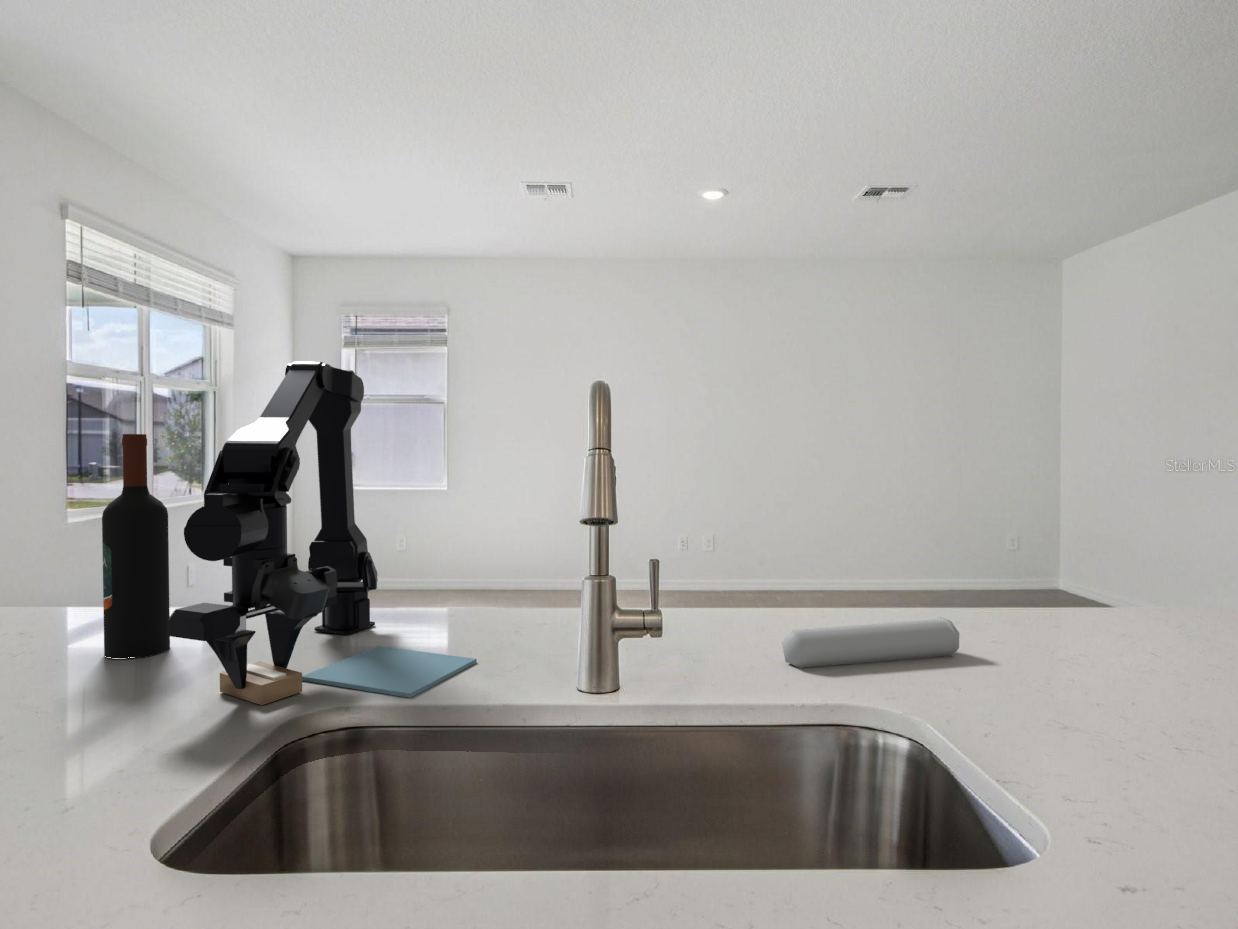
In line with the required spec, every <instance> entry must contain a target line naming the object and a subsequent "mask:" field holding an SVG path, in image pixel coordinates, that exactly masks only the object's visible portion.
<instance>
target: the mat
mask: <svg viewBox="0 0 1238 929" xmlns="http://www.w3.org/2000/svg"><path fill="white" fill-rule="evenodd" d="M476 663H477V658H474V657H465V656H459V655H458V656H457V655H450V654H443V653H435V652H427V651H422V650H421V651H419V650H413V649H404V648H397V647H390V646H383V645H377V646H374V647H371V648H369V649H367V650H365V651H362V652H359V653H357V654H354V655H352V656H350V657H347V658H344V659H342V660H339V661H336V662H333V663H332V664H329V665H327V666H324V667H322V668H318V669H316V670H314V671H311V672H309V673H306V674H304V675H303V674H302V682H309V683H315V684H322V685H328V686H333V687H339V688H340V687H341V688H347V689H353V690H360V691H365V692H371V693H377V694H378V693H379V694H385V695H391V696H397V697H401V698H402V697H404V698H408V699H411V698H413V697H415V696H416V695H419V694H420V693H422V692H425V691H426V690H427V689H430V688H432V687H434V686H436V685H437V684H439V683H441V682H443V681H444V680H446V679H448V678H450V677H452V676H454V675H456V674H459V673H460V672H461V671H464V670H466V669H467V668H468V667H470V666H473V665H475V664H476Z"/></svg>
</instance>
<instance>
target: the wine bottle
mask: <svg viewBox="0 0 1238 929" xmlns="http://www.w3.org/2000/svg"><path fill="white" fill-rule="evenodd" d="M121 446H122V482H123V485H122V489H121V490H122V491H121V493H120V495H119V496H117V497H116V498H115V499H113V500H112V501H111V502H109V503H108V504H107V506H106V507H105V508H104V510H103V512H102V516H101V534H102V535H101V540H102V543H101V544H102V591H103V592H102V594H103V596H102V598H103V601H102V602H103V603H102V604H103V606H102V607H103V646H104V647H103V650H104V651H103V653H104V656H106V657H111V658H128V657H129V658H130V657H143V658H146V657H145V656H148V657H151V655H153V656H156V655H160V654H162V653H165V652H167V651H169V650H170V649H171V636H169V632H168V620H169V617H170V616H171V615H170V613H171V612H170V561H169V560H170V558H169V557H170V556H169V555H170V551H169V548H170V547H169V512H168V509H167V507H166V506H165V504H164V503H163V502H162V501H161V500H160V499H158V498H156V496H154V495H152V494H151V493H150V491H149V488H148V456H147V455H148V451H147V450H148V449H147V446H148V437H147V433H144V434H143V433H141V434H140V433H122V438H121ZM106 657H105V658H106Z"/></svg>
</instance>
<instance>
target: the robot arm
mask: <svg viewBox="0 0 1238 929" xmlns="http://www.w3.org/2000/svg"><path fill="white" fill-rule="evenodd" d="M364 385H365V384H364V382H363V379H362V377H359V375H358V374H356V372H354V371H353V370H352V369H342V368H338V367H334V366H331V365H330V364H328V363H324V362H323V361H293V362H292V363H291V362H290V363H287V365H286V367H285V372H284V377H283V379H282V380H281V382H280V384H279V386H278V387H277V388H276V390H275V392H274V394H273V395H272V397H271V398H270V400H269V402H268V403H267V405H266V406H265V408H264V410H263V411H262V412H261V414H260V416H259V417H258V419H257V420H256V421H255V422H253V423H250V424H248V425H245V426H243V427H241V428H238V429H237V430H236V431H235V432H234V433H233V434H232V435H231V436H230V437H229V438H228V439H227V441H226V442H224V444H223V446H222V448H221V449H220V451H219V453H218V456H217V458H216V461H215V463H214V466H213V468H212V471H211V475H210V476H209V479H208V482H207V485H206V487H205V490H204V492H203V506H201V507H199V508H198V509H196V510H195V511H194V512H193V513H191V514H190V516H189V518H188V520H187V522H186V525H185V526H184V528H183V537H184V542H185V544H186V546H187V548H188V549H189V551H190V552H191V553H192V554H193V555H195V556H196V557H197V558H199V559H201V560H203V561H209V562H217V561H222V560H223V561H222V562H223V566H224V567H231V590H230V591H226V592H223V602H224V603H225V602H226V603H231V605H229V604H228V605H227V604H219V603H218V604H217V603H209V602H201V603H196V604H194V605H192V604H191V605H188V606H184V607H179V608H175V609H174V611H172V613H171V615H170V617H169V620H168V632H169V636H170V637H172V638H180V639H185V640H186V639H187V640H193V641H200V642H206V643H207V644H208V645H209V647H210V648H211V650H212V651H213V653H214V654H215V655H216V656H217V658H218V660H219V662H220V663H221V665H222V667H223V668H224V670H225V671H226V672H227V674H228V676H229V677H230V679H231V681H232V683H233V685H234V686H235V688H236V689H244V688H245V685H246V678H247V664H248V643H249V642H250V641H251V639H252V638H253V637H254V635H255V634H256V630H252V629H251V630H249V629H247V620H248V619H251V618H255V617H259V616H263V615H264V616H265V621H266V622H265V623H266V626H267V627H266V629H267V632H268V639H269V645H270V646H269V647H270V652H271V657H272V663H273V665H275V666H279V667H283V668H286V669H288V666H289V663H290V661H291V657H292V654H293V651H294V648H295V646H296V643H297V640H298V638H299V635H300V633H301V631H302V629H303V627H304V626H305V625H307V623H308V622H309V621H310V620H312V619H313V618H315V617H317V616H318V615H319V614H321V625H317V626H315V627H314V632H323V633H328V634H338V635H345V636H347V635H351V634H353V633H357V632H360V631H362V630H365V629H368V628H371V627H373V626H375V625H376V622H375V621H372V620H371V617H370V616H371V615H370V614H371V610H370V609H371V601H370V600H371V599H370V598H369V592H370V591H374V590H375V591H376V590H377V589H378V581H379V580H378V570H377V569H376V568H377V567H376V566H375V562H374V561H373V557H372V555H371V553H370V552H369V551H368V540H367V537H366V536H365V534H363V532H362V530H361V529H360V528H359V526H358V525H357V524H356V522H355V521H356V520H355V500H354V479H353V475H354V474H353V459H352V458H353V457H352V453H353V452H352V436H351V435H352V434H351V432H352V431H351V430H352V427H353V425H354V423H355V422H356V420H357V419H358V417H359V416H360V415H361V414H360V413H361V411H362V401H363V400H364V396H365V386H364ZM308 421H309V423H310V425H312V427H313V428H314V430H315V431H316V446H317V447H316V448H317V463H318V464H317V465H318V466H317V467H318V469H317V470H318V483H319V486H318V488H319V504H320V505H319V506H320V523H321V526H320V527H321V528H320V529H319V531H318V533H317V535H316V537H315V538H314V540H313V541H311V542H310V545H309V547H308V548H309V549H308V550H309V557H308V563H307V567H308V570H307V571H304V570H301V569H299V565H298V558H297V557H296V554H295V553H288V514H287V513H288V507H287V505H289V504H291V503H292V498H291V496H290V495H289V494H288V493H287V492H289V491H290V489H291V488H292V486H293V485H292V484H293V482H294V481H295V478H296V476H297V473H298V472H299V469H300V464H301V460H300V459H301V458H300V456H299V452H298V449H297V443H298V441H299V438H300V437H301V434H302V433H303V430H304V429H305V427H306V425H307V423H308Z"/></svg>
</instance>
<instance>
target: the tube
mask: <svg viewBox="0 0 1238 929" xmlns="http://www.w3.org/2000/svg"><path fill="white" fill-rule="evenodd" d="M781 646H782V652H783V657H784V661H785V662H786V663H788V664H789V665H793V667H794V666H795V667H796V668H798V667H806V668H815V667H817V666H819V667H827V665H831V666H838V665H837V664H843V665H851V664H853V665H854V664H865V663H876V662H879V663H880V662H890V661H903V660H916V659H925V658H926V659H928V658H938V657H955V656H954V655H956V653H957V652H958V650H960V649H959V648H960V631H959V630H958V629H957V628H956V626H955V625H954V623H953V621H952V620H950V619H947V618H945V617H942V616H938V617H936V618H933V619H919V620H918V619H917V620H906V621H893V622H892V621H891V622H881V623H880V622H877V623H869V624H868V623H866V624H853V625H839V626H827V627H813V628H801V629H799V628H798V629H791V631H790V632H789V633H788V634H786V636H785V637H784V639H783V640H782V641H781ZM817 668H818V667H817Z"/></svg>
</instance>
